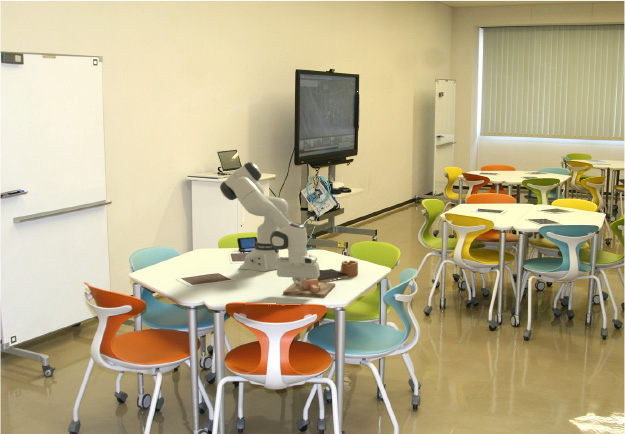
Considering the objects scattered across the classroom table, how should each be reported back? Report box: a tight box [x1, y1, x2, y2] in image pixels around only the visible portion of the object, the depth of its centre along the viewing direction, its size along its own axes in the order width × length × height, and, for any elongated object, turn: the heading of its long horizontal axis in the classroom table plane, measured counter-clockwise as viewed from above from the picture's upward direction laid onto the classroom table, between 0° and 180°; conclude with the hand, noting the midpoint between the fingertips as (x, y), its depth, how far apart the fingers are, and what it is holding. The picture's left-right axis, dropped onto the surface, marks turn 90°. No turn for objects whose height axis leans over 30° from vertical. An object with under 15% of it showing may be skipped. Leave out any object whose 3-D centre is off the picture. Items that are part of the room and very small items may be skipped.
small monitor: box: [236, 236, 258, 253], centre depth 427 cm, size 12×11×7 cm
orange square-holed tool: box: [302, 278, 319, 292], centre depth 333 cm, size 6×13×4 cm, turn 18°
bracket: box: [340, 260, 359, 278], centre depth 369 cm, size 18×8×7 cm, turn 0°
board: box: [282, 280, 336, 298], centre depth 336 cm, size 20×20×2 cm
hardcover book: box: [296, 268, 349, 283], centre depth 359 cm, size 16×23×2 cm
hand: (298, 286), depth 331 cm, fingers closed
